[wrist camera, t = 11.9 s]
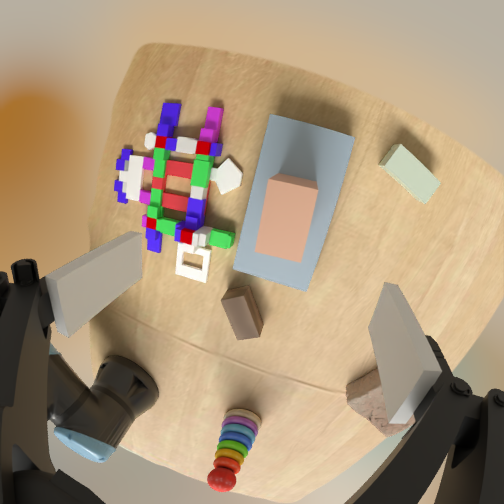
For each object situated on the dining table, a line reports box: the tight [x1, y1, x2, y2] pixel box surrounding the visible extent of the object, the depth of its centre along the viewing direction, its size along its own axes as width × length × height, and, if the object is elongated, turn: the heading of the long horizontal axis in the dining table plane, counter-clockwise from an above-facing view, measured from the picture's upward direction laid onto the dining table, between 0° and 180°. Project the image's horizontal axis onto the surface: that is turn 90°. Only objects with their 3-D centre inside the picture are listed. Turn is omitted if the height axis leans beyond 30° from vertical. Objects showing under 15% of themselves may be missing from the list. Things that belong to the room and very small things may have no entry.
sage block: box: [379, 144, 441, 204], centre depth 30 cm, size 4×7×4 cm, turn 55°
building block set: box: [114, 103, 243, 283], centre depth 38 cm, size 25×20×4 cm
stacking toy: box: [207, 409, 261, 492], centre depth 44 cm, size 8×8×19 cm
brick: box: [346, 368, 415, 437], centre depth 42 cm, size 17×8×5 cm, turn 46°
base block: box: [233, 114, 355, 292], centre depth 35 cm, size 10×20×4 cm, turn 166°
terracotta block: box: [255, 173, 318, 263], centre depth 29 cm, size 4×7×8 cm, turn 170°
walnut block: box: [221, 285, 263, 340], centre depth 42 cm, size 4×7×4 cm, turn 18°
